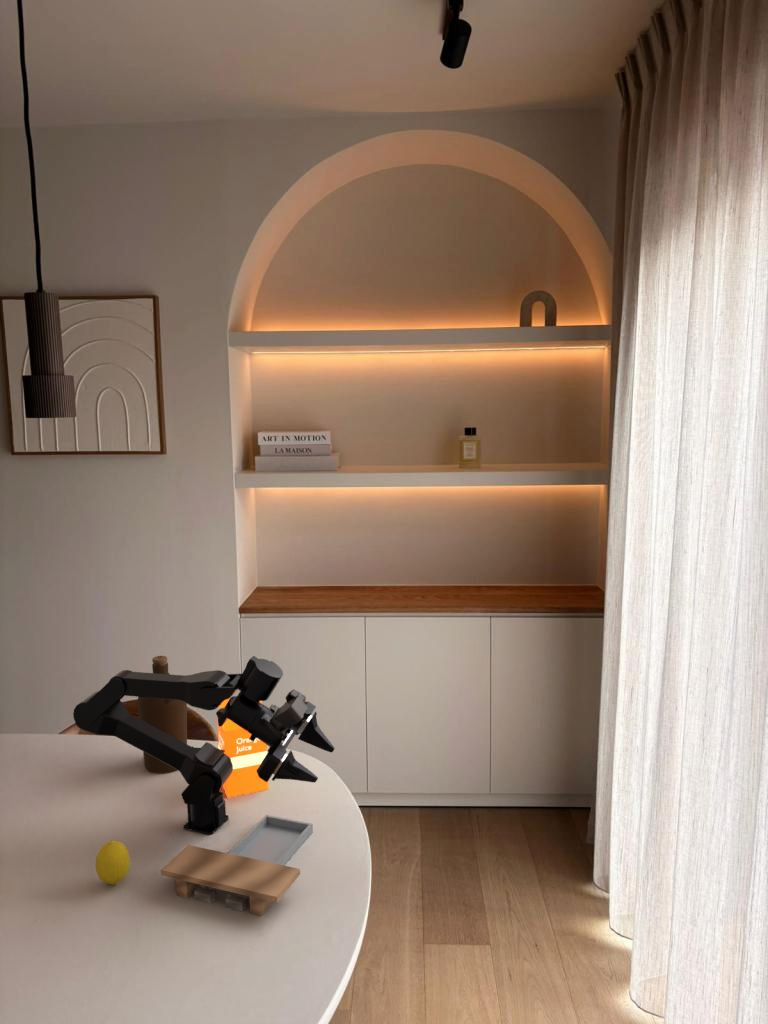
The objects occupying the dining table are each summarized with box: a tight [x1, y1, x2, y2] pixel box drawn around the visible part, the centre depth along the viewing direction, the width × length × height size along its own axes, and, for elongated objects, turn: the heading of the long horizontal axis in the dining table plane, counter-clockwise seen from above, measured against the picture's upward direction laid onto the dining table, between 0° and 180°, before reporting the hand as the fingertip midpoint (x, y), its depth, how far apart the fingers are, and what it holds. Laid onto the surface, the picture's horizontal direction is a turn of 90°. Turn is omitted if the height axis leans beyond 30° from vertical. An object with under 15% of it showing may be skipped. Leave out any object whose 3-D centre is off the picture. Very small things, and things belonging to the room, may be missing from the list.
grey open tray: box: [227, 814, 314, 866], centre depth 149 cm, size 10×14×2 cm
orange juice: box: [216, 697, 270, 798], centre depth 171 cm, size 8×9×20 cm
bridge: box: [160, 844, 301, 917], centre depth 136 cm, size 22×8×4 cm, turn 69°
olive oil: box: [137, 655, 188, 774], centre depth 181 cm, size 11×11×25 cm
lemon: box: [95, 840, 131, 886], centre depth 138 cm, size 6×6×8 cm
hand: (325, 765), depth 151 cm, fingers open, 9 cm apart
